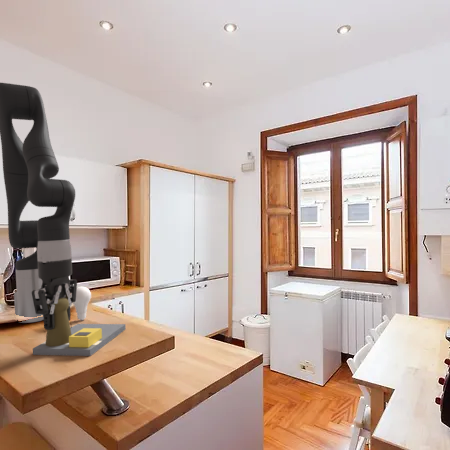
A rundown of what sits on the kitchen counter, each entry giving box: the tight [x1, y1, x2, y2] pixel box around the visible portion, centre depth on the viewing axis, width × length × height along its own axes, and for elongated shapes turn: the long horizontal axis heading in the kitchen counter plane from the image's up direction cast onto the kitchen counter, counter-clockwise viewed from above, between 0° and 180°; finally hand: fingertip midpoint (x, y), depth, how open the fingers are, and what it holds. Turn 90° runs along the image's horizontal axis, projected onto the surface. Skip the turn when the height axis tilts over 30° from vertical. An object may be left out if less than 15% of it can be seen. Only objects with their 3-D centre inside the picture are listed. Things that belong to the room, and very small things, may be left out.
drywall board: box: [32, 323, 126, 357], centre depth 83 cm, size 15×18×2 cm
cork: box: [45, 298, 72, 347], centre depth 78 cm, size 6×6×11 cm
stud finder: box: [69, 328, 102, 348], centre depth 77 cm, size 5×6×3 cm
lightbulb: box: [70, 285, 92, 321], centre depth 101 cm, size 6×6×11 cm
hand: (58, 324), depth 78 cm, fingers open, 5 cm apart
